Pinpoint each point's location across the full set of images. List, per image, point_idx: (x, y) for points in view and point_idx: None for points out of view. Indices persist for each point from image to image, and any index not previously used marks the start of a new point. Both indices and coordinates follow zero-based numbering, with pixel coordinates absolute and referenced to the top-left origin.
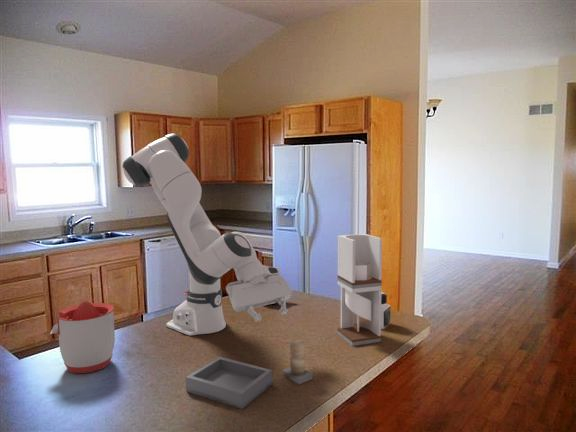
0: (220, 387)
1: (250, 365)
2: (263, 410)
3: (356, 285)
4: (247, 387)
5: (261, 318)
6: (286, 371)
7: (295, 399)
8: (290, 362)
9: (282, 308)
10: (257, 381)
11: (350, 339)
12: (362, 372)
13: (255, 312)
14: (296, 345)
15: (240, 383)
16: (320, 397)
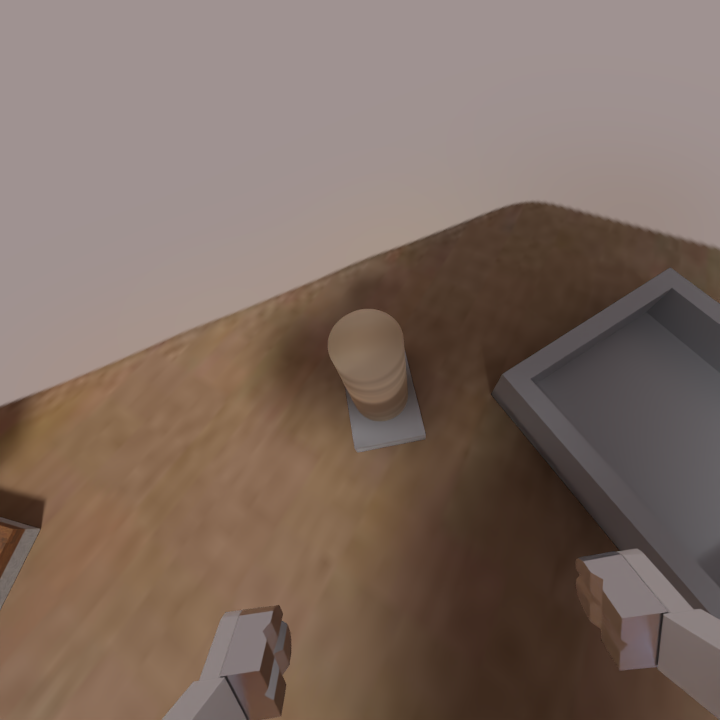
0: None
1: (589, 463)
2: (570, 273)
3: None
4: (641, 295)
5: (584, 556)
6: (416, 418)
7: (457, 286)
8: (404, 390)
9: (261, 650)
10: (590, 318)
11: (8, 547)
12: (192, 333)
13: (707, 628)
14: (387, 315)
15: (628, 429)
16: (386, 269)
